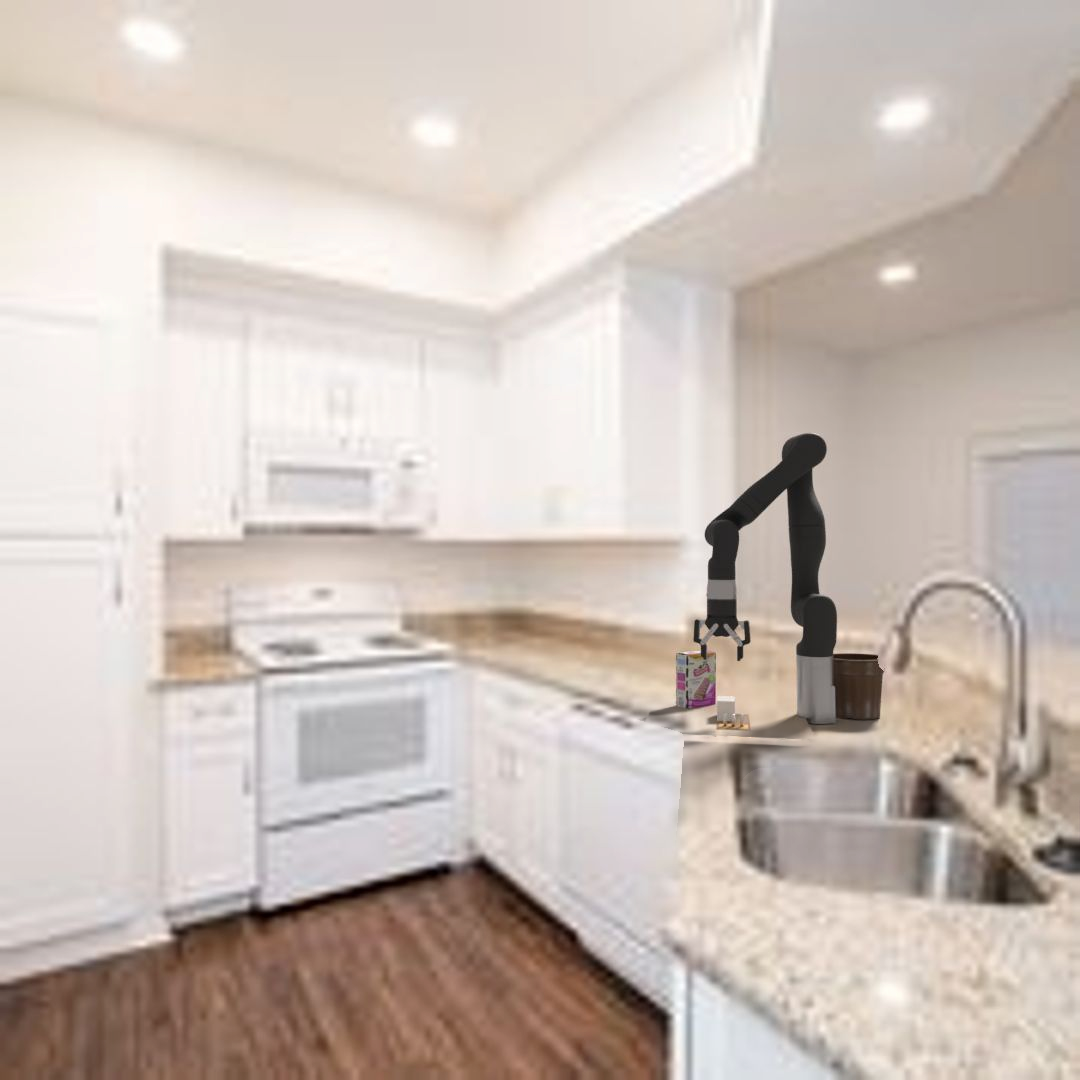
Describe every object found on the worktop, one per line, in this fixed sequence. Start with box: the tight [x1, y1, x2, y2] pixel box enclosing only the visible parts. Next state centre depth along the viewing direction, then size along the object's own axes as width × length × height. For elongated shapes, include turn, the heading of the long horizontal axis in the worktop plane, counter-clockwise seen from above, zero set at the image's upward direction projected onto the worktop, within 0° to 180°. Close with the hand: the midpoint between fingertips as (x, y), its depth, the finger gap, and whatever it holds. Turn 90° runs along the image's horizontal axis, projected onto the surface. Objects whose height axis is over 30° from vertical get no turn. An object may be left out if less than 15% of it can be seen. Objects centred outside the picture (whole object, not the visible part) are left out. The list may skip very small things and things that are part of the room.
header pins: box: [723, 713, 745, 727], centre depth 198 cm, size 5×1×3 cm, turn 77°
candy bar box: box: [675, 650, 717, 709], centre depth 226 cm, size 11×5×16 cm, turn 122°
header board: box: [716, 713, 752, 732], centre depth 203 cm, size 8×20×2 cm, turn 167°
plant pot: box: [833, 652, 885, 721], centre depth 217 cm, size 16×16×16 cm
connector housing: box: [716, 695, 736, 722], centre depth 208 cm, size 8×4×5 cm, turn 167°
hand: (721, 660), depth 207 cm, fingers open, 8 cm apart
